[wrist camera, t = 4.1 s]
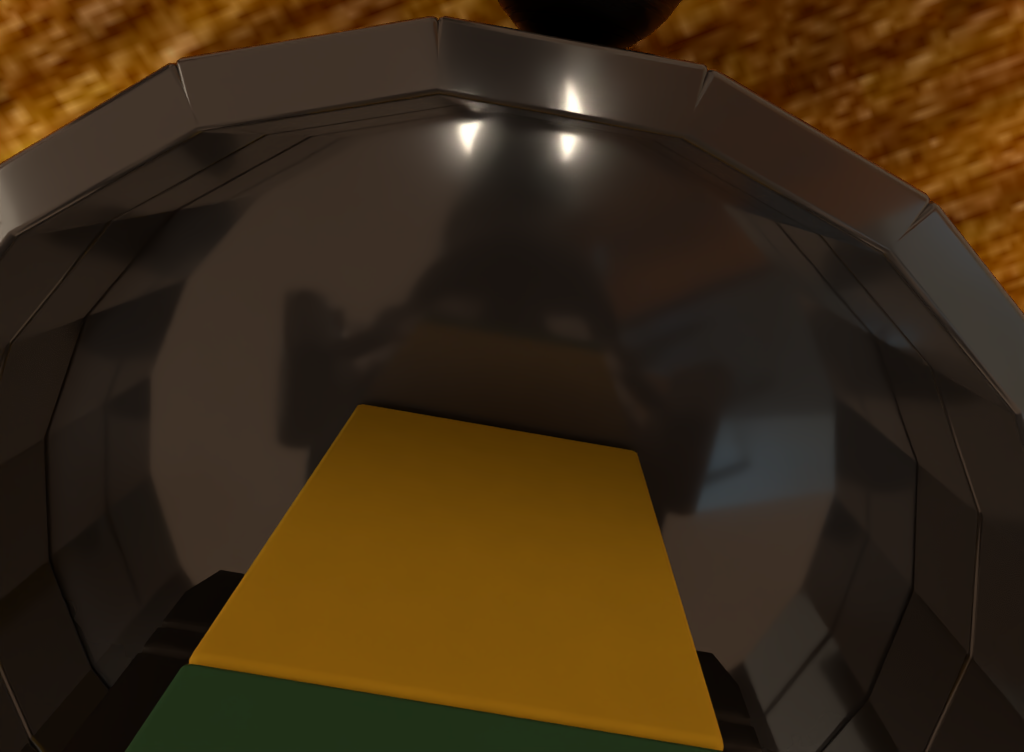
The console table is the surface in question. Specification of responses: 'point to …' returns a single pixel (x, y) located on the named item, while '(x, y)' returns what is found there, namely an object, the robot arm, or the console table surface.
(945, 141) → the console table surface
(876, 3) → the console table surface
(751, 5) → the console table surface
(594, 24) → the skillet handle
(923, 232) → the skillet
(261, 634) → the sponge
